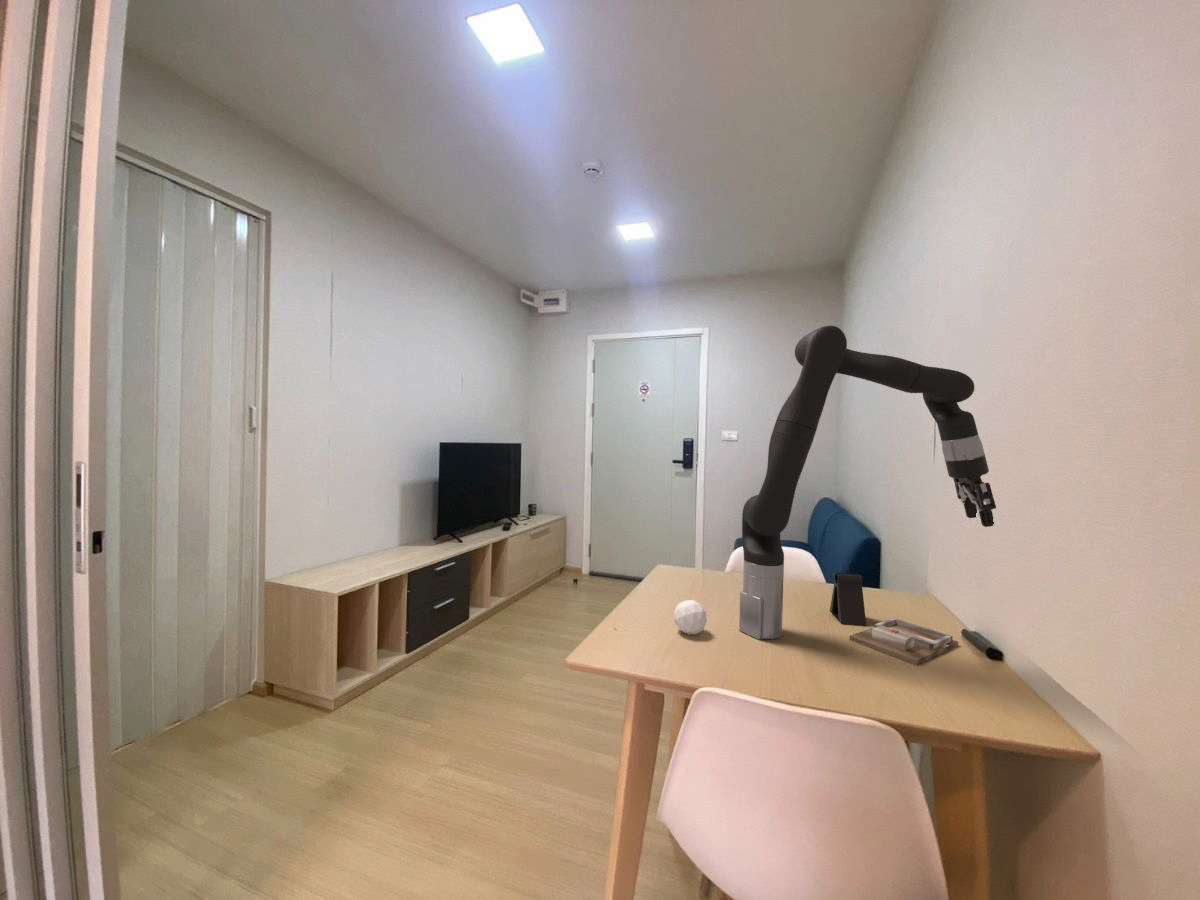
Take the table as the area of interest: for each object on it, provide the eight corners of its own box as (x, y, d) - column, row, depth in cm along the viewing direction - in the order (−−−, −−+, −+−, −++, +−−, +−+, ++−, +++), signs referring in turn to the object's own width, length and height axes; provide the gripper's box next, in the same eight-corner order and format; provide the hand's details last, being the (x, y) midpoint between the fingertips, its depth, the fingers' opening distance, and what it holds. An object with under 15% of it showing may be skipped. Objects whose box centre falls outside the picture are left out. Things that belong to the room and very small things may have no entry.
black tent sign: (866, 626, 113) (867, 579, 113) (840, 624, 115) (842, 577, 115) (853, 614, 122) (854, 570, 122) (829, 611, 123) (830, 568, 123)
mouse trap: (916, 665, 93) (916, 647, 93) (849, 639, 105) (849, 624, 105) (958, 645, 103) (958, 629, 103) (893, 624, 115) (893, 610, 115)
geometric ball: (690, 647, 105) (681, 627, 101) (672, 624, 112) (664, 603, 108) (716, 630, 106) (709, 609, 102) (697, 607, 113) (690, 587, 109)
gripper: (935, 456, 114) (950, 517, 114) (957, 462, 101) (974, 532, 101) (970, 449, 111) (986, 512, 111) (997, 455, 98) (1015, 526, 98)
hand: (980, 521), depth 106 cm, fingers open, 8 cm apart
